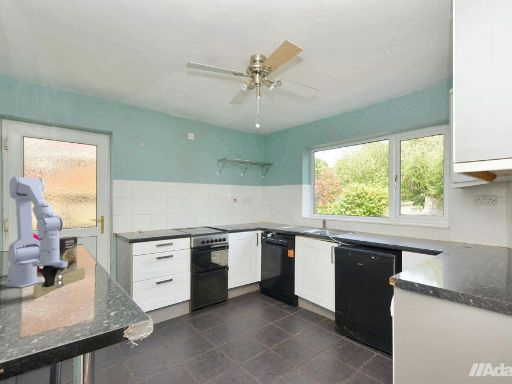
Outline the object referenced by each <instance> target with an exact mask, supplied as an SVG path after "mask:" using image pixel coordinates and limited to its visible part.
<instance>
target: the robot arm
mask: <svg viewBox="0 0 512 384" xmlns="http://www.w3.org/2000/svg"><path fill="white" fill-rule="evenodd" d="M8 186H9V196H10V198H12V199H14V201H15V211H16V230H17V231H16V232H17V233H16V234H17V239H16V240H14V241H13V242H12V243H10V245H8V252H7V259H8V262H9V263H10V265H9V266H8V268H7V283H6V284H5V285H4V287H11V288H21V289H22V288H25V287H29V286H31V285H32V286H34V285H36V284H39V283H41V282H43V279H44V281H45V285H46V287H51V286H54V284H55V277H56V275H58V274H57V272H58V271H59V269H60V267H61V268H64V267H68V261H63V260H60V257H59V238H60V232H61V231H62V230H63V228H64V227H63V226H64V224H63V222H64V221H63V220H62V217H61V216H59V215H57V214H55V211H54V209H53V207H52V205H51V203H49V202H46V200H45V196H44V193H43V192H44V189H45V186H46V185H45V180H44V179H43V178H41V177H23V176H22V177H21V176H12V177H11V178H10V181H9V185H8ZM32 204H33V207H32ZM33 214H34V217H35V218H36V231H37V235H38V237H39V238H40V241H39V240H37V239H35V238H33V231H34V230H33V229H34V228H33ZM25 245H33V246H25ZM39 259H40V260H39ZM37 266H40V267H42V268H41V269H39V271H40V274H41V275H42V277H43V279H38V273H37Z"/></svg>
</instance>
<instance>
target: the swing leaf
mask: <svg viewBox="0 0 512 384" xmlns="http://www.w3.org/2000/svg"><path fill="white" fill-rule="evenodd" d="M60 281H62V275H61V274H56V277H55V284H54V286H51V287H46V285H45V280H42V282H39V283H36V284H33V285H32V286H33V293H32V294H33V298H32V299H38V298H40V297H42V296H43V295H46V294H48V293H50V292H51V291H54V290H55V289H58V288H57V282H60Z"/></svg>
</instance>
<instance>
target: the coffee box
mask: <svg viewBox="0 0 512 384" xmlns="http://www.w3.org/2000/svg"><path fill="white" fill-rule="evenodd" d="M59 257H60V260H63V261H68V267H64V268H61V267H60V269H59V271H58V272H57V274H56V275H61V274H64V273H68V272H71V271H74V270H78V236H64V237H59Z"/></svg>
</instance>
